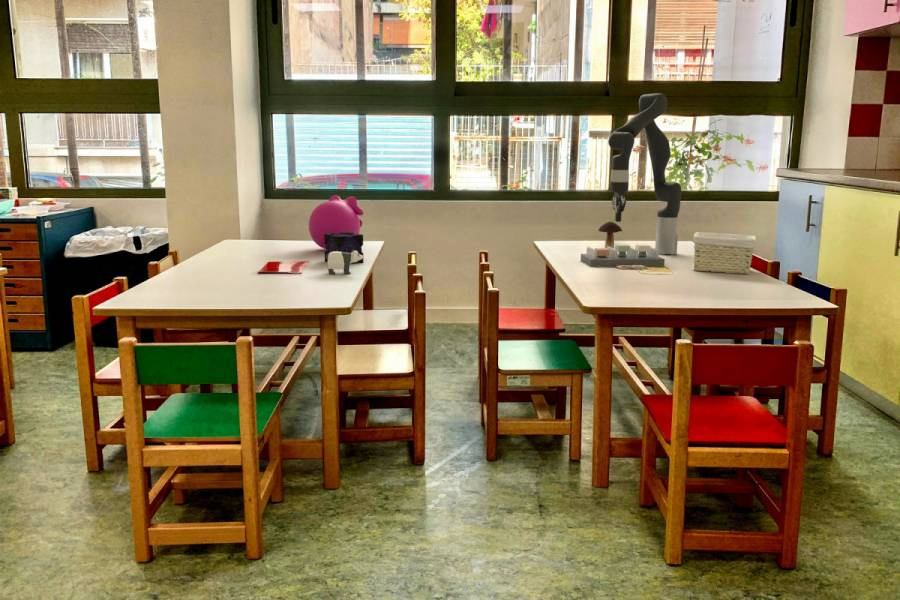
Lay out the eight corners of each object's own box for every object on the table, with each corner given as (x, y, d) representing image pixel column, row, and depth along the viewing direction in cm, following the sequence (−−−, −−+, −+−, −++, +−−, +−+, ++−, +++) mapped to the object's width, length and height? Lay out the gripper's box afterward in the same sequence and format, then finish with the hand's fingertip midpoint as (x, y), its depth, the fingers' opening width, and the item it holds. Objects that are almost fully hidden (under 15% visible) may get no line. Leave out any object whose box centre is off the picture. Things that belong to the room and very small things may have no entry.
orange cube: (605, 258, 336) (606, 248, 335) (608, 260, 331) (609, 249, 330) (594, 258, 335) (594, 248, 334) (597, 260, 330) (598, 249, 330)
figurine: (371, 249, 367) (370, 196, 362) (338, 255, 347) (337, 199, 342) (333, 245, 379) (332, 193, 374) (299, 251, 359) (297, 196, 354)
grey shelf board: (651, 260, 344) (652, 245, 342) (664, 266, 328) (665, 251, 327) (580, 260, 341) (581, 245, 339) (590, 266, 325) (591, 251, 324)
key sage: (625, 254, 336) (626, 244, 335) (629, 256, 332) (630, 245, 331) (614, 254, 336) (615, 244, 335) (618, 256, 331) (618, 245, 330)
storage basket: (752, 269, 323) (755, 234, 320) (753, 276, 308) (756, 239, 305) (692, 265, 331) (695, 231, 328) (690, 271, 316) (693, 235, 313)
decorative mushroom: (607, 256, 355) (609, 223, 352) (592, 252, 364) (593, 221, 361) (625, 254, 360) (627, 222, 357) (610, 251, 369) (612, 220, 366)
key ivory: (645, 254, 337) (646, 244, 336) (649, 256, 332) (650, 245, 331) (634, 254, 337) (635, 244, 336) (638, 256, 332) (639, 245, 331)
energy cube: (338, 265, 321) (337, 236, 319) (324, 261, 331) (324, 233, 328) (363, 263, 328) (363, 234, 326) (349, 259, 338) (349, 231, 335)
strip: (643, 267, 324) (643, 264, 324) (647, 269, 320) (647, 266, 320) (615, 267, 323) (615, 265, 323) (619, 269, 319) (619, 266, 319)
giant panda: (326, 275, 298) (325, 250, 296) (325, 272, 304) (325, 248, 302) (364, 274, 301) (364, 249, 299) (363, 271, 306) (362, 247, 304)
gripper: (633, 181, 321) (631, 223, 325) (623, 179, 334) (621, 219, 338) (615, 181, 320) (613, 223, 324) (606, 179, 333) (605, 219, 337)
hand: (618, 221), depth 331 cm, fingers closed
